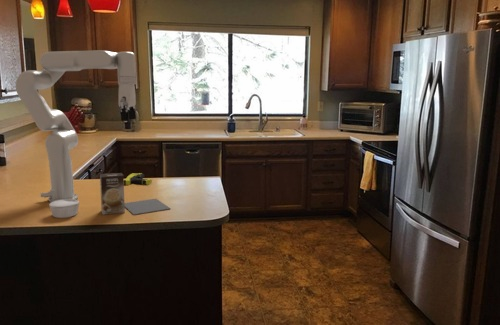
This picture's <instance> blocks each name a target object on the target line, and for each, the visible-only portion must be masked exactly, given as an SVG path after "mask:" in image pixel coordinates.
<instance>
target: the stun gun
mask: <svg viewBox="0 0 500 325" xmlns="http://www.w3.org/2000/svg"><path fill="white" fill-rule="evenodd" d="M132 184H137V185H145V186H146V185H147V186H148V185H151V184H153V179H151V178H145V174H144V173H142V172H141V173H140V172H139V173H133V172H132V173H130V174H129V175H128V176H127V177H126V178H125V179H124V186H129V185H132Z"/></svg>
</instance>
